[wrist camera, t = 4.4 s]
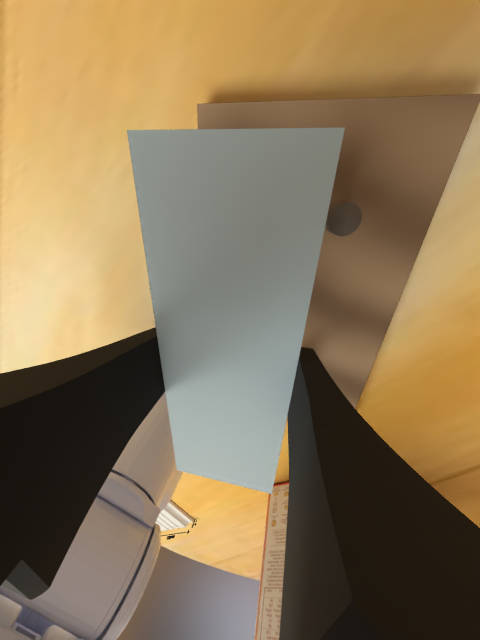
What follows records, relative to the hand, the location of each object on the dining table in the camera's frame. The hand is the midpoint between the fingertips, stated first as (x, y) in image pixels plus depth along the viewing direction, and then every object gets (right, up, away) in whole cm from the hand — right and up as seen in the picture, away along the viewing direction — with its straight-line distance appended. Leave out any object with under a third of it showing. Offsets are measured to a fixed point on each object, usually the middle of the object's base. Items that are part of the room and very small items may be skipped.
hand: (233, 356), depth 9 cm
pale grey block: (0, +1, +1) cm, 2 cm away
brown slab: (+4, +4, +8) cm, 10 cm away
